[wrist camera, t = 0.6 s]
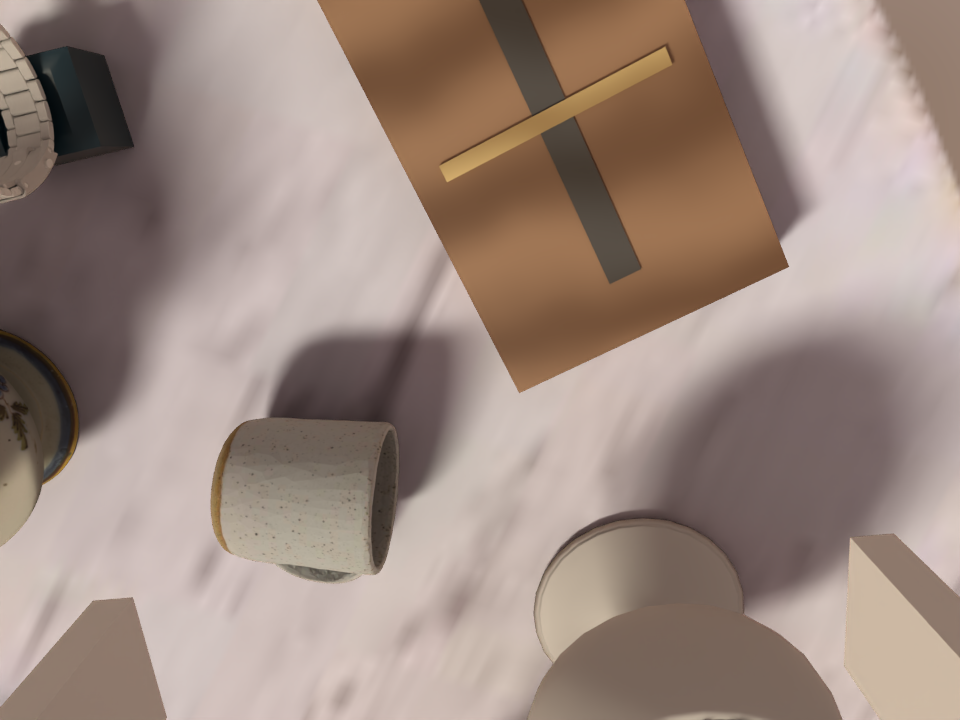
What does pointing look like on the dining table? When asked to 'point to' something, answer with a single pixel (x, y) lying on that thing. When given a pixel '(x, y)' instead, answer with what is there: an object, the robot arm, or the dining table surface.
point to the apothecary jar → (30, 429)
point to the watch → (53, 113)
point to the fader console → (565, 163)
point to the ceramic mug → (308, 495)
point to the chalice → (662, 635)
